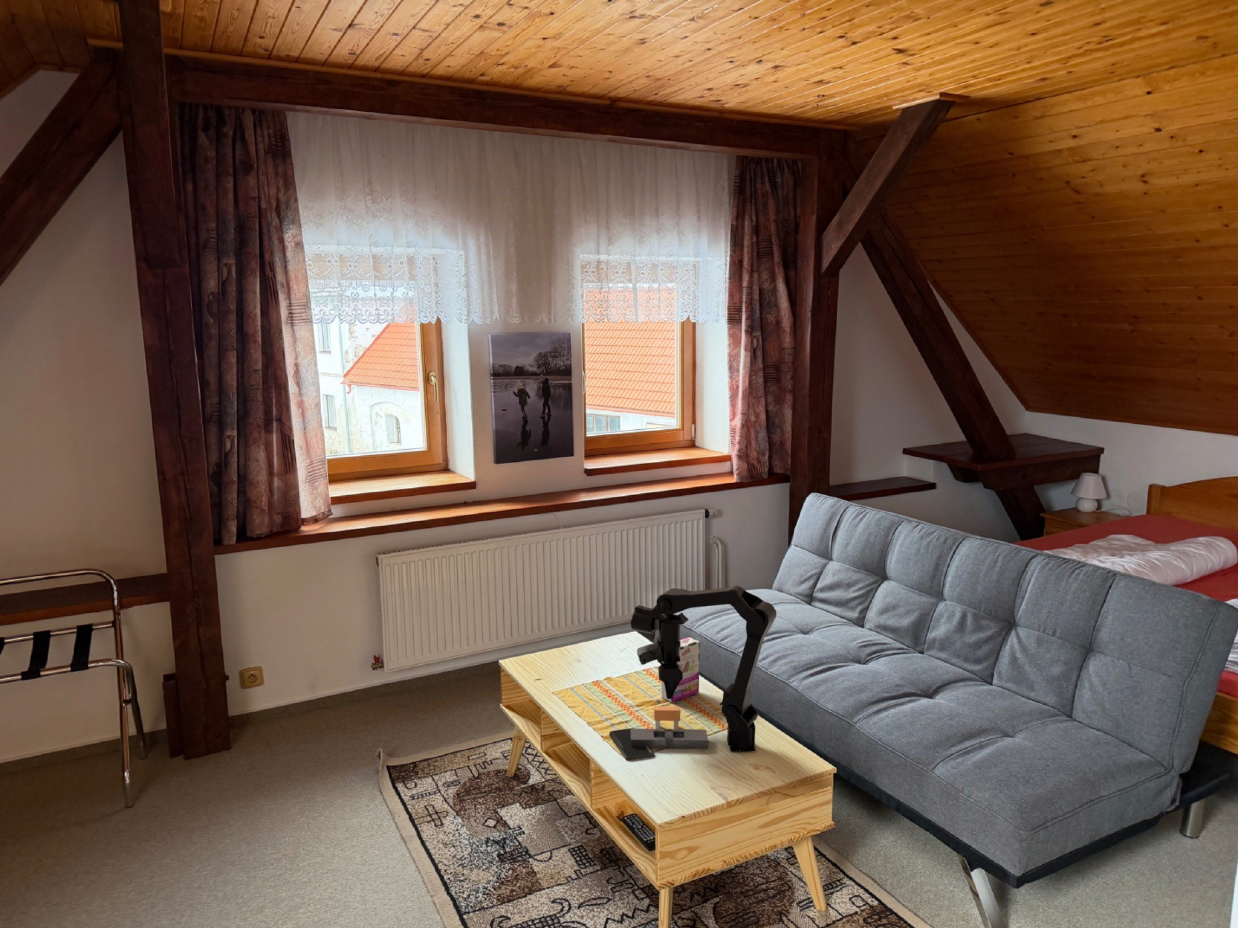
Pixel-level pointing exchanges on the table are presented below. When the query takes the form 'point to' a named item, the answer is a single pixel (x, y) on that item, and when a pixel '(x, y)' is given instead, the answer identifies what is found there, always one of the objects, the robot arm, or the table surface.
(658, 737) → the rail
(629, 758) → the phone
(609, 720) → the table surface
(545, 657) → the table surface
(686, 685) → the candy bar box
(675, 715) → the clip
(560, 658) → the table surface
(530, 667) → the table surface
